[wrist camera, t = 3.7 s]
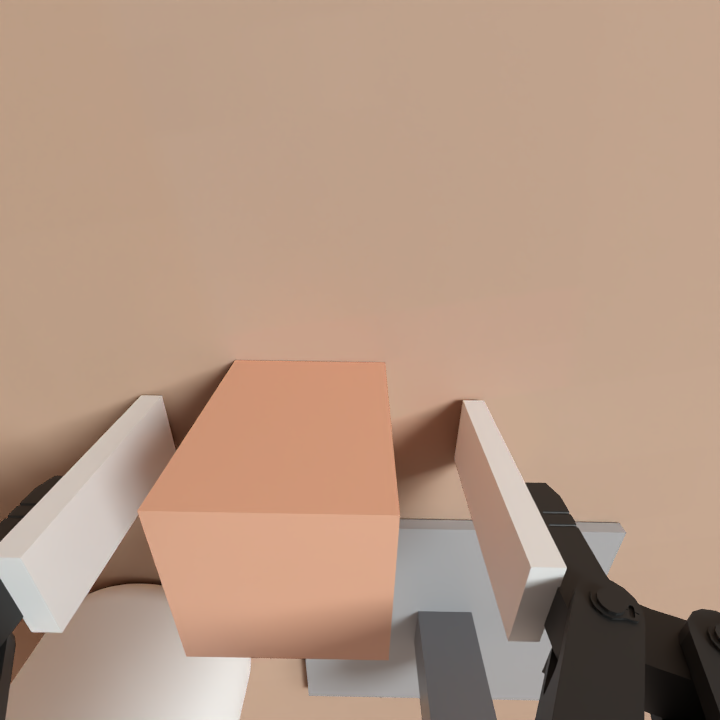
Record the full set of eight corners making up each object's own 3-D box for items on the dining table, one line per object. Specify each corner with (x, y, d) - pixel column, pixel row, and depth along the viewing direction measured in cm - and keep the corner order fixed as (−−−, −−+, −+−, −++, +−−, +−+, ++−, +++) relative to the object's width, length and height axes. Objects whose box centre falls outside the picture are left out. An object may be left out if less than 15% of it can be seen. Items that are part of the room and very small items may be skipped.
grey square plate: (295, 517, 17) (255, 722, 11) (619, 522, 17) (766, 732, 11) (309, 685, 23) (289, 876, 17) (546, 690, 23) (612, 883, 17)
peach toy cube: (235, 360, 14) (137, 510, 8) (385, 362, 14) (400, 515, 8) (252, 474, 16) (186, 656, 10) (379, 476, 16) (388, 660, 10)
